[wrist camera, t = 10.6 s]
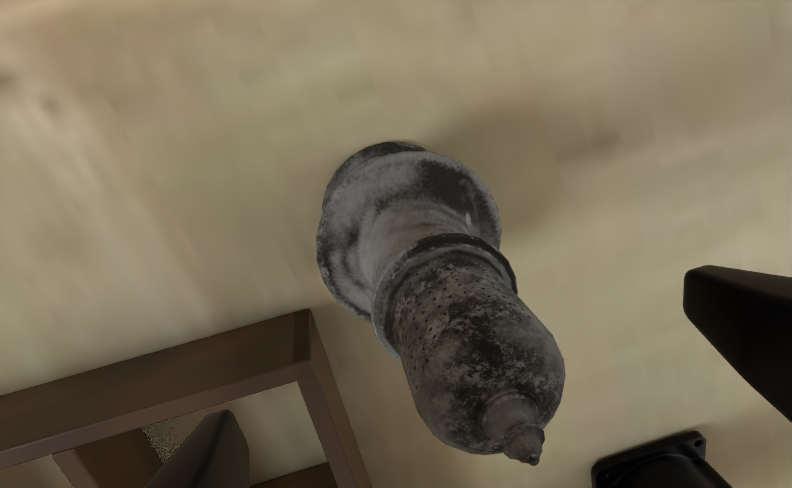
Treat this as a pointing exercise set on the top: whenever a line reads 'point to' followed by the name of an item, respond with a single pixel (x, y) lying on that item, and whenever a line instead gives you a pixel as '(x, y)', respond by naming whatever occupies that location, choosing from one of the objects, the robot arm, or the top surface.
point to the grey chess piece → (441, 297)
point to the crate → (179, 406)
